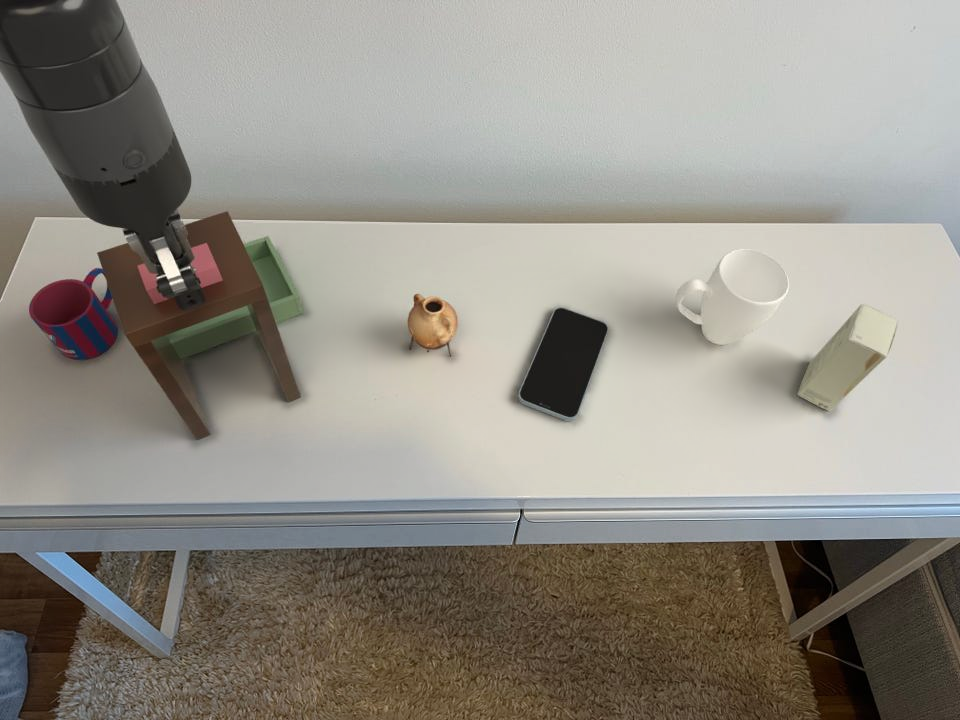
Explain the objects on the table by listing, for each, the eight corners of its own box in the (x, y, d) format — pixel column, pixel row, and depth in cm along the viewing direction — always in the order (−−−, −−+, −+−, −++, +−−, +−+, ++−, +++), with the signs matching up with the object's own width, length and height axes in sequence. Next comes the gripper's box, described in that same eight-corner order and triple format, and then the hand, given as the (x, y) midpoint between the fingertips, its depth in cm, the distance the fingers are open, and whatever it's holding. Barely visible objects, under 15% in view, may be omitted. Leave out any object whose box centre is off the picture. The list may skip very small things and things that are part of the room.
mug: (740, 305, 89) (778, 247, 80) (757, 358, 85) (799, 304, 75) (652, 305, 88) (679, 247, 79) (665, 359, 84) (695, 304, 74)
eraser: (154, 304, 58) (146, 290, 57) (145, 280, 60) (136, 265, 58) (222, 280, 60) (216, 266, 58) (212, 257, 61) (206, 242, 60)
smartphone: (611, 324, 85) (576, 421, 77) (609, 328, 86) (574, 424, 78) (556, 304, 86) (515, 398, 78) (554, 309, 87) (514, 402, 79)
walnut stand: (197, 440, 74) (124, 334, 57) (172, 371, 79) (96, 252, 61) (301, 397, 78) (263, 284, 60) (271, 333, 82) (227, 210, 65)
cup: (45, 345, 79) (14, 311, 74) (106, 287, 84) (82, 251, 79) (89, 369, 78) (61, 336, 72) (149, 308, 83) (128, 273, 77)
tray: (172, 362, 79) (162, 346, 76) (148, 296, 84) (138, 279, 81) (303, 313, 84) (299, 296, 81) (273, 253, 89) (268, 235, 86)
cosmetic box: (829, 413, 81) (887, 360, 71) (795, 395, 82) (847, 340, 72) (843, 375, 84) (901, 319, 74) (810, 358, 85) (862, 300, 75)
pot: (410, 323, 85) (405, 363, 81) (410, 278, 79) (404, 319, 75) (457, 327, 85) (454, 367, 81) (461, 282, 79) (457, 324, 75)
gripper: (25, 89, 44) (126, 261, 59) (67, 225, 38) (168, 378, 53) (142, 61, 46) (212, 233, 61) (199, 185, 41) (261, 343, 55)
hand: (192, 300), depth 57 cm, fingers closed
